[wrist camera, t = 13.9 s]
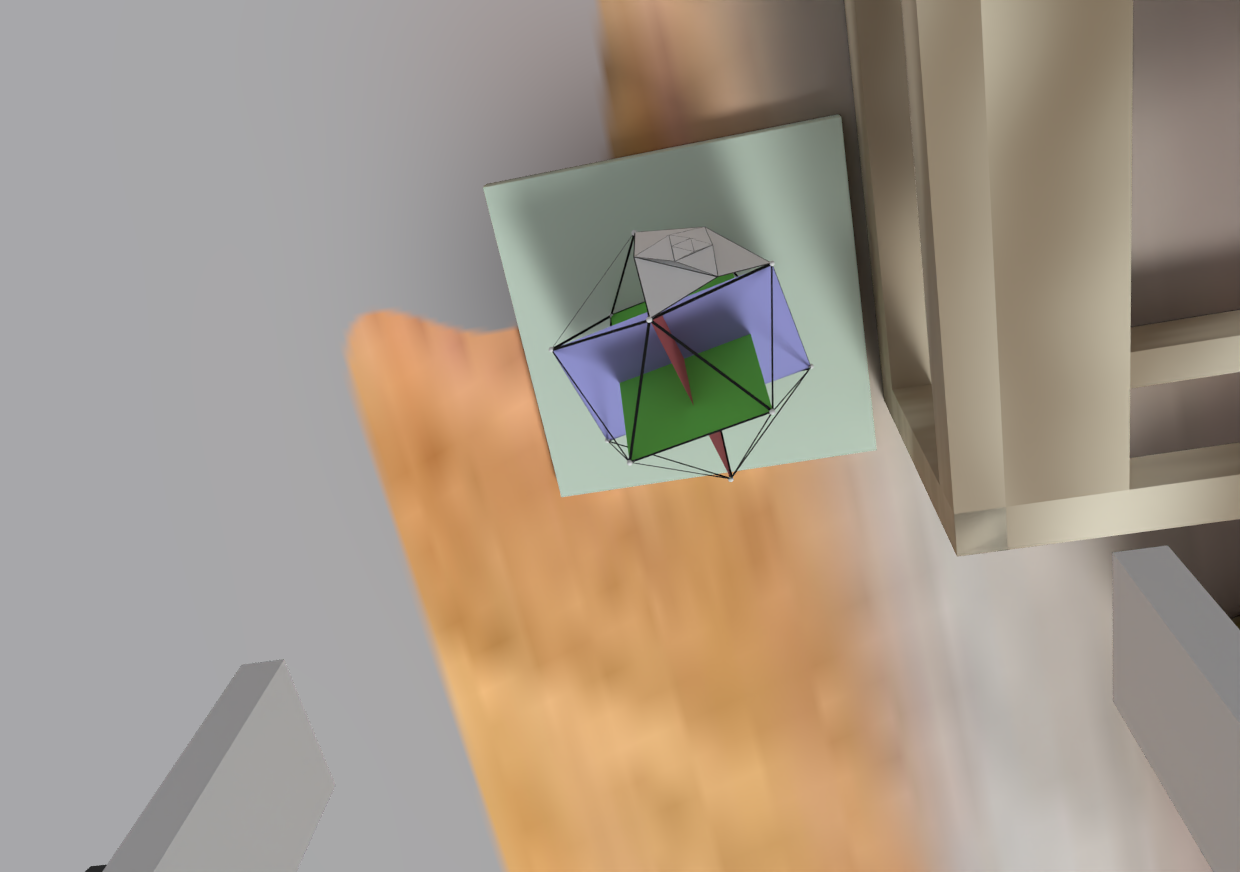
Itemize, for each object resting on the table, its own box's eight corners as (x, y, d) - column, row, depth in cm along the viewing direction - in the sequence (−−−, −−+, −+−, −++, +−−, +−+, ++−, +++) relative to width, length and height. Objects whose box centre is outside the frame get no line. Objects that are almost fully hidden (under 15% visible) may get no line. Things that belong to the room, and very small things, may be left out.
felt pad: (838, 114, 29) (840, 116, 29) (873, 442, 34) (876, 450, 33) (486, 184, 31) (482, 187, 30) (563, 489, 35) (561, 497, 35)
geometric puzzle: (847, 456, 31) (824, 402, 24) (646, 524, 32) (564, 493, 25) (775, 256, 33) (732, 147, 25) (588, 329, 34) (496, 247, 27)
